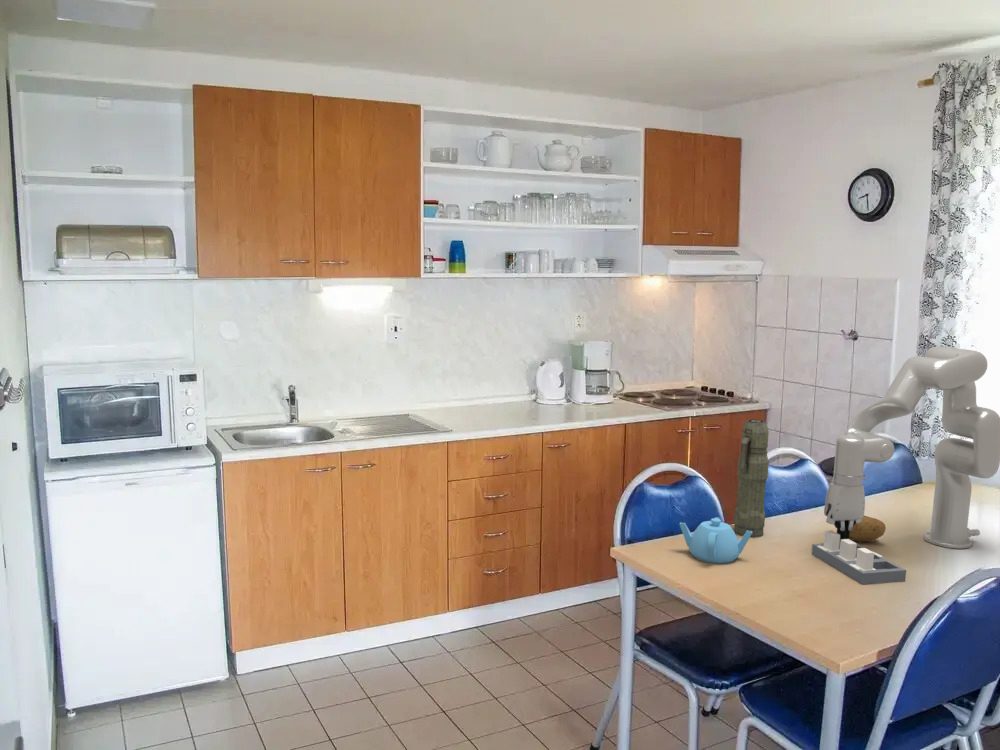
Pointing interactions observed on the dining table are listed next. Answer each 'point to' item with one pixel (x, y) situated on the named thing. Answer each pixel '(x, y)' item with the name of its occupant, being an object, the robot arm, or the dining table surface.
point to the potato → (867, 529)
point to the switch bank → (882, 574)
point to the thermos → (752, 479)
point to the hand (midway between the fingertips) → (842, 542)
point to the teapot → (714, 541)
